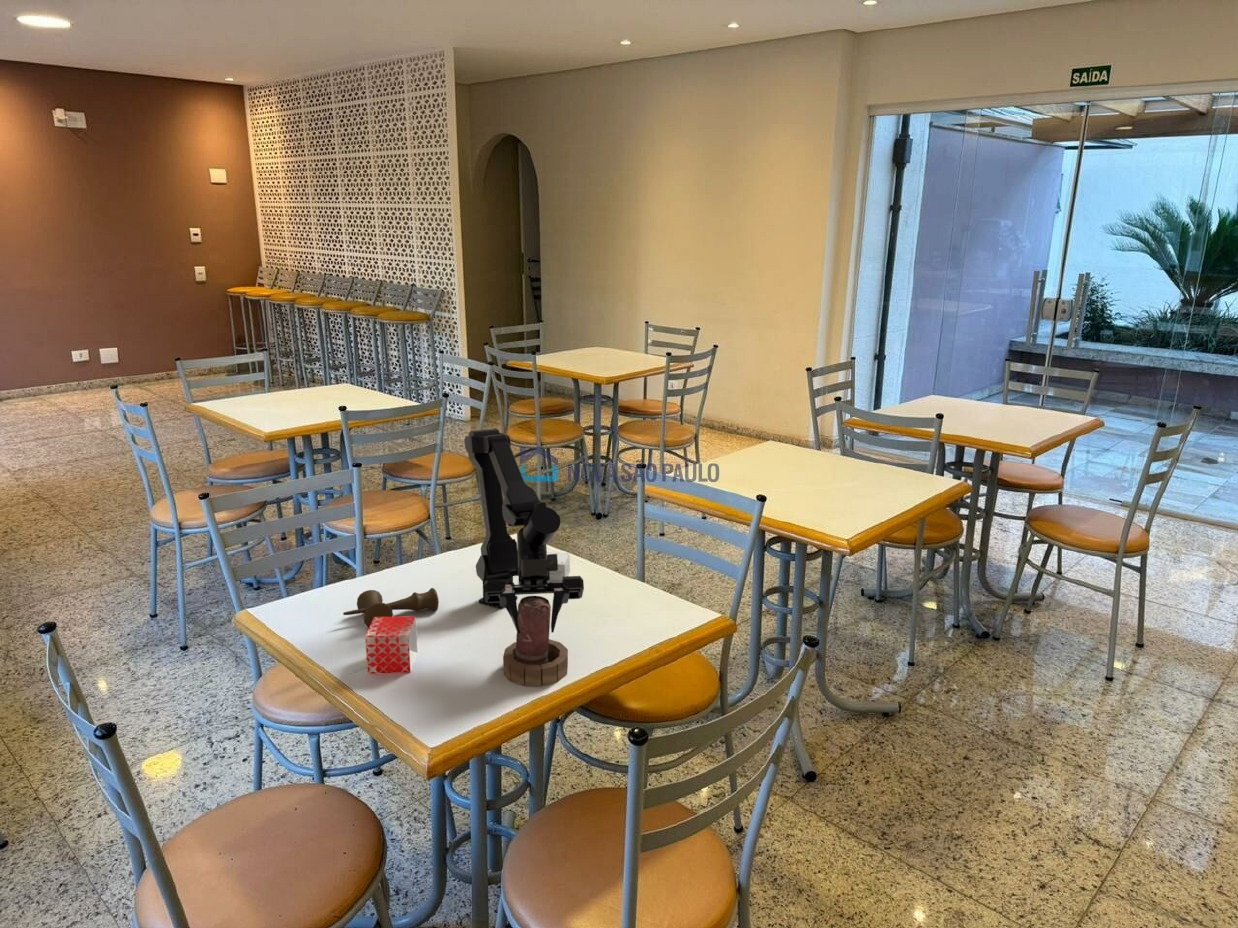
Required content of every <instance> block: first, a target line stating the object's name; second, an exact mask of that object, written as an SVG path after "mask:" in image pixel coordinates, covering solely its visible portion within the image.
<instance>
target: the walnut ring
mask: <svg viewBox="0 0 1238 928" xmlns="http://www.w3.org/2000/svg"><path fill="white" fill-rule="evenodd" d="M502 657H503V658H502V659H503V662H502V667H503V671H502V672H503V675H504V676H505V677H506V679H507V680H508V681H510V682H512V683H514V684H516V685H520V686H523V687H524V686H525V687H545V686H549V685H552V684H555V683H558V682H559V681H561V680H562V679H563V678H565V677H566V676H567V674H568V670H569V669H568V668H569V661H568V660H569V650H568V648H567V647H566V646H565V645H564V644H563V643H562V642H560V641H558V640H554V639H550V638H549V645H548V660H549V661H550V662H547V663H546V664H542V665H526V664H523V663H520V662H517V661H516V660H515V657H516V641H515V642H513V643H512V644H510V645H508V646H507V647H506V648H504V653H503V656H502Z"/></svg>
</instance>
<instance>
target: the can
mask: <svg viewBox="0 0 1238 928" xmlns="http://www.w3.org/2000/svg"><path fill="white" fill-rule="evenodd" d="M519 600H520V601H519V602H518V603H517V610H518V626H519V630H520V633H519V634H518V633H517V632H516V637H515V639H516V641H515V642H516V657H515V660H516V661H517V662H520V663H523V664H526V665H542V664H546V663H549V662H548V660H549V659H548V645H549V639H550V630H551V613H552V606H551V603H550V601H549V600H548V598H546V597H544V596H540V595H528V596H524V597H522V598H521V599H519Z"/></svg>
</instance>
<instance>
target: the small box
mask: <svg viewBox="0 0 1238 928" xmlns="http://www.w3.org/2000/svg"><path fill="white" fill-rule="evenodd" d="M548 554H557V559H558V570H557V571H549V575H550V579H549V580H548V582H549V583H562V577H565V576H569V575H570V572H571V561H570V560H571V559H570V557H571V555H570V552H555V551H554V552H553V551H552V552H551V551H547V555H548Z"/></svg>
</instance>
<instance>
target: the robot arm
mask: <svg viewBox="0 0 1238 928" xmlns="http://www.w3.org/2000/svg"><path fill="white" fill-rule="evenodd" d="M511 446H512V445H511V439H510V436H509V435H508V433H506V432H500V431H499V429H498V428H490V429H487V428H486V429H480V430H479V429H477V430H470V431H469V432H468V435H467V436H465V437H464V448H465V452H466V453H467V456H468V460H469V461H470V463H471V464H472V465H473V466H474V467H475V469H476V470H477V475H478V481H479V488H480V498H481V505H482V511H483V519H484V526H485V528H484V529H485V534H486V535H485V537H484V540H483V542H482V544H481V546H480V556H479V558H478V560H477V562H476V565H475V572H476V576H477V577H478V578H479V579H480V580H481V582H482V597H481V598H480V599H478V603H481V604H484V605H486V606H492V607H495V608H498V609H503V608H505V609H506V611H507V613H508V614H509V616H510V618H511V620H512V623H513V625H514V628H515V631H516V634H517V633H518V634H519V633H520V630H519V626H518V603H517V600H518V596H520V595H521V596H522V595H540V594H541V595H542V594H545V595H546V594H553V598H552V606H551V616H550V630H551V631H550V633H554V632H555V628H556V623H557V620H558V617H559V613H560V611H561V609H562V606H563V604H568V603H569V600H579V599H583V595H584V590H585V585H584V578H583V577H582V576H581V575H570V576H569V575H568V576H565V577H562V583H549V582H548V580H549V579H550V575H549V571H557V570H558V559H557V554H548V555H547V552H548V550H547V549H548V548H547V544H549V543H550V542H551V541H552V539H553V537H554V536H555V534H556V533H557V532H558V530H559V528H560V527H561V518H560V517H561V516H560V515H559V514H558V513H557V511H555V510H554V509H553V508H550V507H548V506H547V504H546V502H545V501H541V500H540V498H539V496H538V494H537V492H536V490H534V488H532V487H530V486H529V485H527V483H526V482H525V480H524V478H523V475H522V472H521V470H520V467H519V465H518V461H517V460H516V458H515V455H514V452H513V450H512V448H511ZM503 497H504V498H503ZM507 525H508V527H512V528H514V527H515V528H517V527H521V528H520V529H519V530H518V532H517V533H516V539H517V541H516V539H515V538H512V536H511V535H510V534H509V532H508V529H507V528H508V527H507ZM514 577H518V584H515V582H514Z"/></svg>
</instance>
